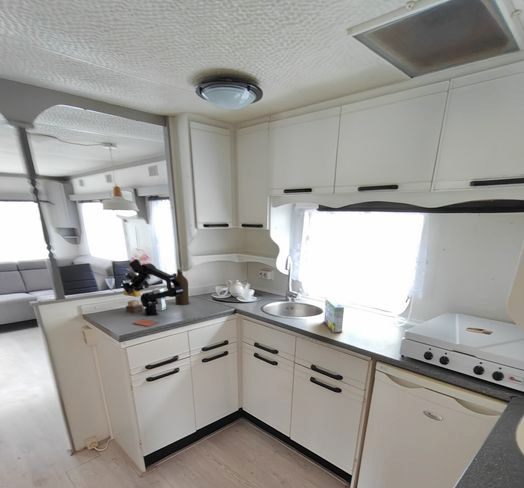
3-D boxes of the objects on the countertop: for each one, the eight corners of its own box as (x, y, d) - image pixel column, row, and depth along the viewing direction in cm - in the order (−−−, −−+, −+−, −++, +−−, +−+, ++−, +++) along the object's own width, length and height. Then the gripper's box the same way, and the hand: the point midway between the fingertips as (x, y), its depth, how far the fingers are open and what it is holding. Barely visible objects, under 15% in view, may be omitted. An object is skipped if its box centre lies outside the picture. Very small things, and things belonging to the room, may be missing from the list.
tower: (142, 310, 223) (140, 300, 221) (134, 313, 217) (132, 302, 215) (134, 309, 226) (133, 299, 223) (126, 311, 220) (125, 301, 218)
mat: (133, 323, 196) (133, 322, 196) (143, 320, 203) (143, 319, 203) (147, 326, 192) (146, 325, 192) (156, 322, 198) (156, 322, 198)
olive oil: (192, 304, 242) (189, 269, 233) (178, 306, 236) (175, 271, 227) (185, 301, 250) (183, 268, 240) (172, 303, 244) (169, 269, 234)
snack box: (323, 321, 205) (325, 298, 200) (331, 321, 206) (334, 298, 200) (332, 332, 186) (335, 307, 180) (342, 332, 186) (345, 307, 181)
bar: (140, 295, 217) (140, 291, 216) (135, 296, 213) (135, 292, 212) (128, 293, 222) (128, 289, 220) (123, 294, 218) (123, 290, 217)
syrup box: (162, 310, 224) (160, 289, 218) (154, 310, 225) (152, 289, 219) (166, 308, 229) (164, 288, 224) (158, 308, 230) (156, 287, 225)
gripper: (143, 266, 217) (133, 281, 226) (121, 270, 201) (111, 286, 210) (154, 279, 217) (143, 294, 225) (132, 284, 201) (122, 299, 210)
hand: (130, 293), depth 218 cm, fingers closed on bar, 4 cm apart
